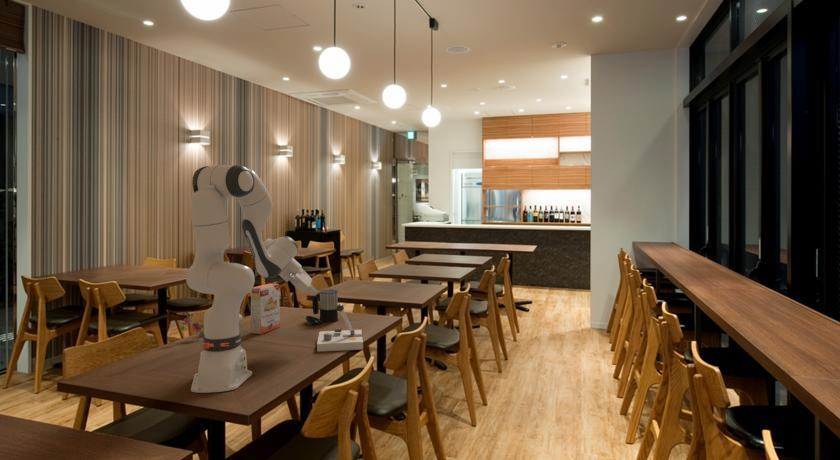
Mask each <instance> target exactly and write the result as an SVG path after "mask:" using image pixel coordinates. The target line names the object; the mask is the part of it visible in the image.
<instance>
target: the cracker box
mask: <svg viewBox="0 0 840 460" xmlns="http://www.w3.org/2000/svg"><path fill="white" fill-rule="evenodd" d="M280 317H281V315H280V284H279V283H266V284H263V285H258V286H253V288H252V290H251V291H250V330H251V334H255V335H263V334H265V333H269V332H271V331H274V330H277V329H279V328H281V327H280V326H281V323H280Z"/></svg>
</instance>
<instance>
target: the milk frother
mask: <svg viewBox="0 0 840 460" xmlns="http://www.w3.org/2000/svg"><path fill="white" fill-rule="evenodd" d="M338 292H339V290H337V289H322V290H318V293H317V295H316V296H314V295H313V294H312V297H311V298H312V299H311V302H312V303H311V305H312V313H313V315H317V314H319V318H317V317H314V316H311V315H307V316H305V320H306V322H308V323H309V324H312V326H314V325H320V323H333V322H334V323H335V322H338V321H339V315H338V314H339V313H338V312H339V311H337V309H336V308H337V306H338V305H339V303H338V302H339V301H338V299H339V298H338V296H339V294H338Z"/></svg>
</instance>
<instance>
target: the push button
mask: <svg viewBox="0 0 840 460" xmlns="http://www.w3.org/2000/svg"><path fill="white" fill-rule="evenodd" d="M330 339H332V334H330V333H327V334H324V340H330Z"/></svg>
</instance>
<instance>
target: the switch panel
mask: <svg viewBox="0 0 840 460" xmlns="http://www.w3.org/2000/svg"><path fill="white" fill-rule="evenodd" d="M353 330H354V331H355V334H354V335H351V334H350V331H349V329H345V330H342V329H341V332H335V330H322V331H319V333H318V336H317V337H318V338H317V341H316V352H334V351H335V352H337V351H338V352H339V351H355V350H357V351H358V350H364V340H363V332H362V329H353ZM327 333H330V334H332V339H330V340H324V334H327Z"/></svg>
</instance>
